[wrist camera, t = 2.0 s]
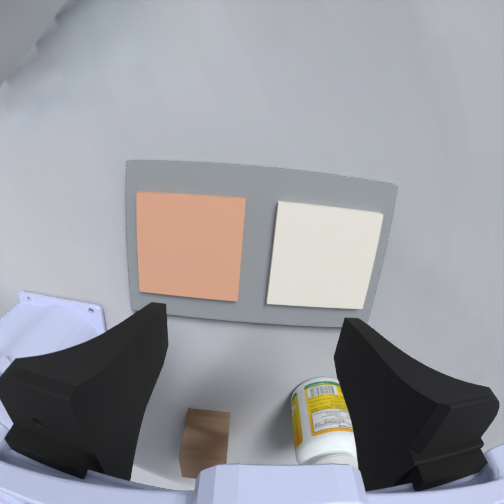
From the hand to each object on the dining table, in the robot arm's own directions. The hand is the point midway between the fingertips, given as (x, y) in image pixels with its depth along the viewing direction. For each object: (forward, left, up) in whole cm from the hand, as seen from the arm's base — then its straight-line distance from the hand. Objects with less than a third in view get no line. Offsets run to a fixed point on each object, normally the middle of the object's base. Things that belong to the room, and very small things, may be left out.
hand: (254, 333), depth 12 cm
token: (-3, -19, -10) cm, 22 cm away
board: (0, 0, -10) cm, 10 cm away
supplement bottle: (+7, -14, -11) cm, 19 cm away
